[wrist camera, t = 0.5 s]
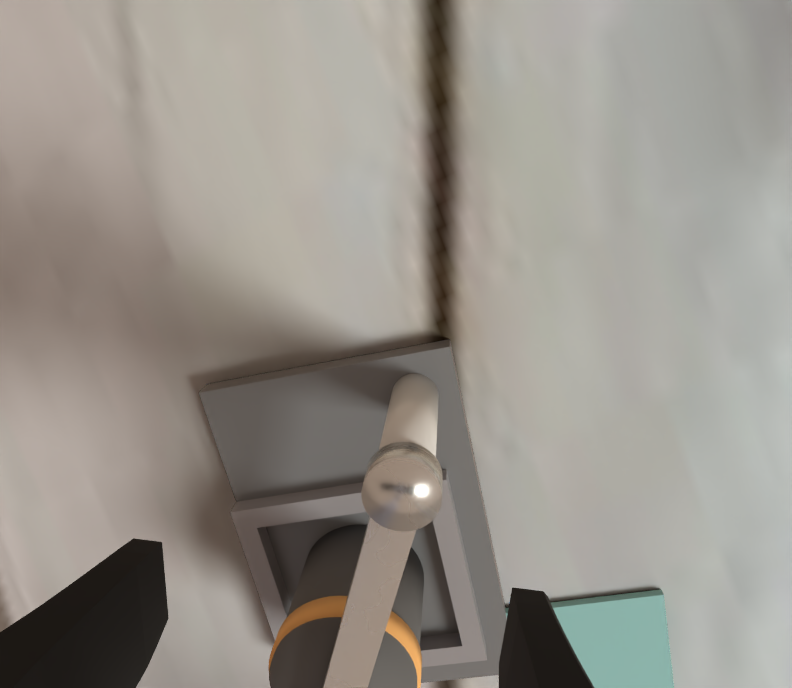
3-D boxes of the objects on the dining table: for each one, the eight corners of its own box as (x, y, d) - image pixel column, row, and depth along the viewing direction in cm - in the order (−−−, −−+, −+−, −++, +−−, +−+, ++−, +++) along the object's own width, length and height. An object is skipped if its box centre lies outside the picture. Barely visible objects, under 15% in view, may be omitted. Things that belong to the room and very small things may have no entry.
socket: (306, 679, 27) (269, 822, 21) (206, 384, 23) (128, 465, 17) (515, 656, 26) (533, 803, 20) (449, 339, 21) (449, 412, 16)
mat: (528, 720, 27) (529, 727, 26) (505, 607, 25) (506, 613, 25) (674, 707, 26) (676, 713, 25) (661, 589, 24) (663, 594, 24)
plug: (320, 632, 25) (289, 748, 20) (288, 531, 24) (247, 631, 19) (438, 618, 24) (434, 735, 20) (411, 513, 23) (401, 612, 18)
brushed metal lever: (376, 433, 16) (371, 452, 15) (451, 453, 16) (451, 473, 15) (302, 712, 19) (294, 742, 18) (364, 728, 19) (360, 759, 18)
